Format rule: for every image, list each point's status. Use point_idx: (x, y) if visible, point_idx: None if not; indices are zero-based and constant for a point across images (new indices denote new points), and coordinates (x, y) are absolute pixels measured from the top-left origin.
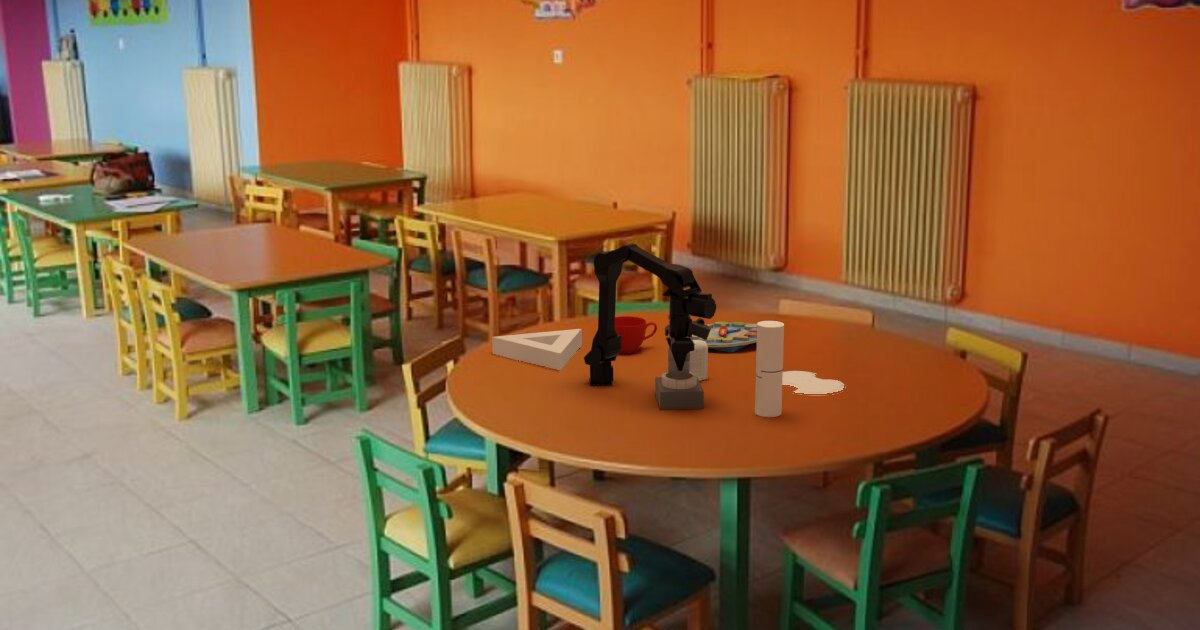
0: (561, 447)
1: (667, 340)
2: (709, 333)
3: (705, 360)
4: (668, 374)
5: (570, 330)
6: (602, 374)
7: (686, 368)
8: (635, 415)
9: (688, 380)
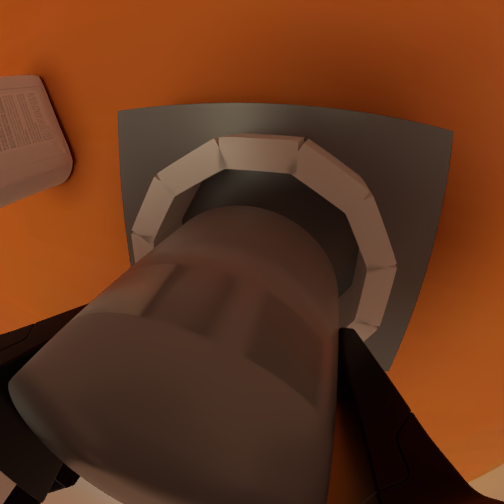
0: (481, 471)
1: (42, 499)
2: None
3: None
4: None
5: None
6: None
7: (325, 287)
8: (403, 389)
9: (388, 239)
